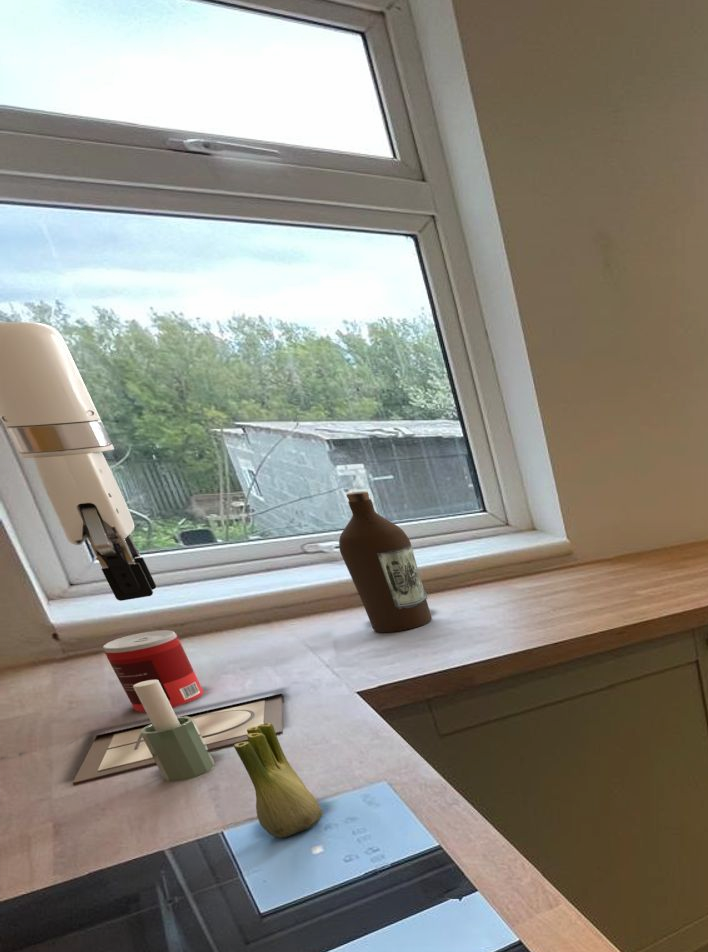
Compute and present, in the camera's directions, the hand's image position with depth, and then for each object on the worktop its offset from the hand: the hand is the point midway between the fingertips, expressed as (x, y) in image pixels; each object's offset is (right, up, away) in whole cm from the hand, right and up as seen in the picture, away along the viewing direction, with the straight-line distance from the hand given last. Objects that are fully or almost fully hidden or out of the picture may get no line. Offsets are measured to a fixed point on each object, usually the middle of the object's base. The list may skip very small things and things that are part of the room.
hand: (137, 593), depth 100 cm
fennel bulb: (+30, -27, -12) cm, 42 cm away
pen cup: (+6, -23, +1) cm, 23 cm away
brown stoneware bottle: (-8, 0, +55) cm, 56 cm away
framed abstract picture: (-4, -19, +11) cm, 22 cm away
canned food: (-18, -15, +22) cm, 32 cm away
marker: (+6, -22, +1) cm, 23 cm away
